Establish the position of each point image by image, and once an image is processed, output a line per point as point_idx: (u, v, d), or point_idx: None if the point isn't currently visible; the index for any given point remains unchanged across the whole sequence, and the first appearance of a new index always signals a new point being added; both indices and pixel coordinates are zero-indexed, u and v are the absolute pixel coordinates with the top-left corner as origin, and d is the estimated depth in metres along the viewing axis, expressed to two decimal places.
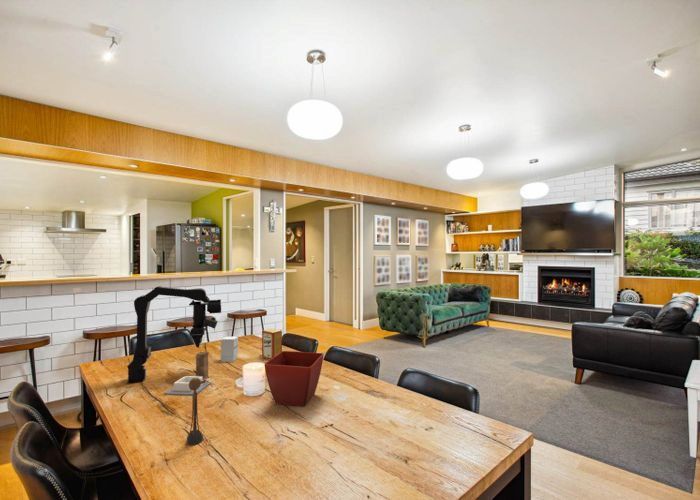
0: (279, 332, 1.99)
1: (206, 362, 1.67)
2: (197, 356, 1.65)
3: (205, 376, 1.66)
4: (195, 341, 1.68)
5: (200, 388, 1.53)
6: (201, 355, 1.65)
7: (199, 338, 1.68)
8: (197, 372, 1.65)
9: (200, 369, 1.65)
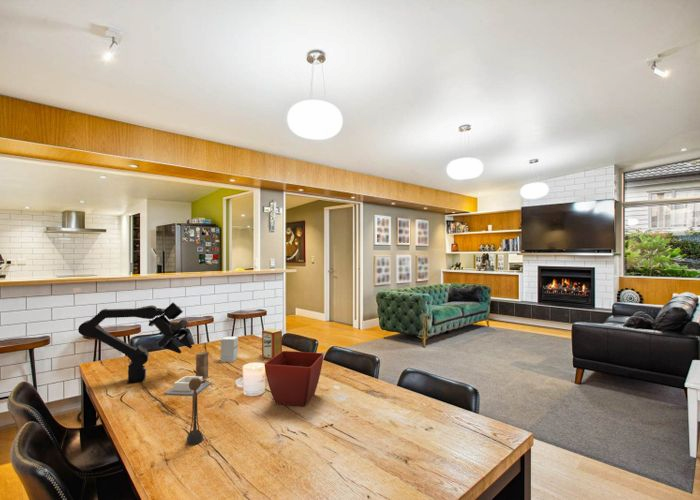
0: (279, 332, 1.99)
1: (206, 362, 1.67)
2: (197, 356, 1.65)
3: (205, 376, 1.66)
4: (173, 350, 1.62)
5: (200, 388, 1.53)
6: (201, 355, 1.65)
7: (173, 345, 1.62)
8: (197, 372, 1.65)
9: (200, 369, 1.65)
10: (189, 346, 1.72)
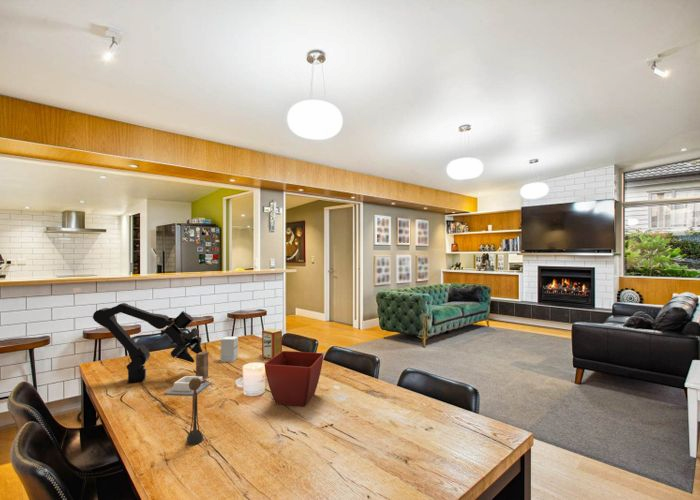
0: (279, 332, 1.99)
1: (206, 362, 1.67)
2: (197, 356, 1.65)
3: (205, 376, 1.66)
4: (186, 359, 1.62)
5: (200, 388, 1.53)
6: (201, 355, 1.65)
7: (186, 354, 1.62)
8: (197, 372, 1.65)
9: (200, 369, 1.65)
10: None
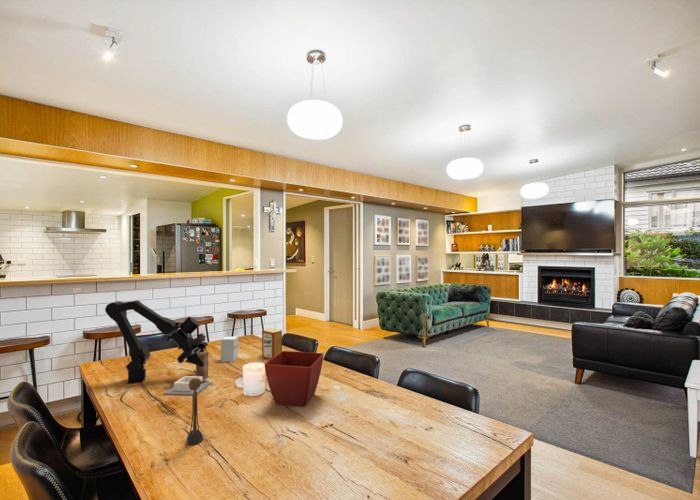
0: (279, 332, 1.99)
1: (206, 362, 1.67)
2: (197, 356, 1.65)
3: (205, 376, 1.66)
4: (195, 363, 1.64)
5: (200, 388, 1.53)
6: (201, 355, 1.65)
7: (195, 358, 1.64)
8: (197, 372, 1.65)
9: (200, 369, 1.65)
10: None
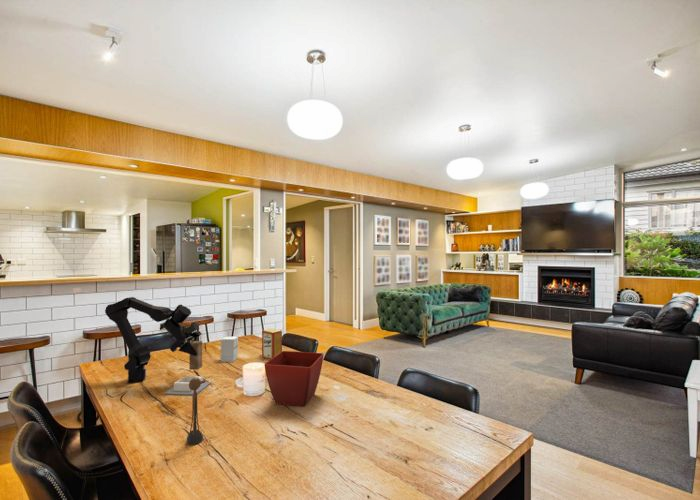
0: (279, 332, 1.99)
1: (200, 351, 1.61)
2: (191, 345, 1.59)
3: (198, 365, 1.59)
4: (189, 352, 1.57)
5: (200, 388, 1.53)
6: (195, 344, 1.59)
7: (189, 347, 1.57)
8: (190, 362, 1.59)
9: (194, 358, 1.59)
10: None
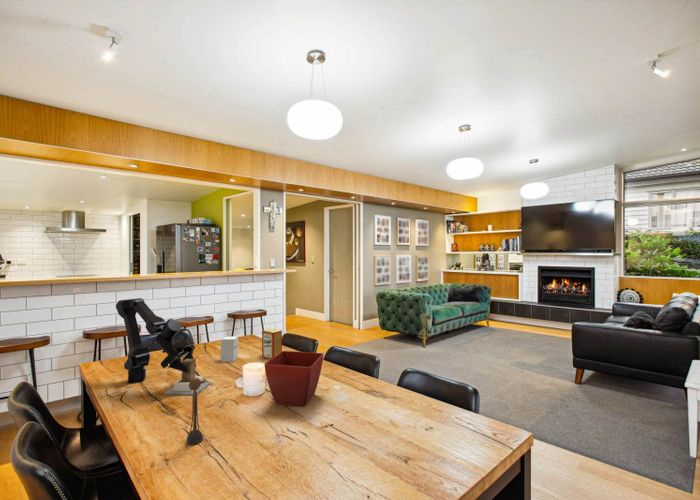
0: (279, 332, 1.99)
1: (193, 370, 1.54)
2: (183, 363, 1.52)
3: None
4: (179, 369, 1.50)
5: (200, 388, 1.53)
6: (187, 362, 1.52)
7: (179, 364, 1.49)
8: (183, 381, 1.52)
9: (186, 377, 1.52)
10: None
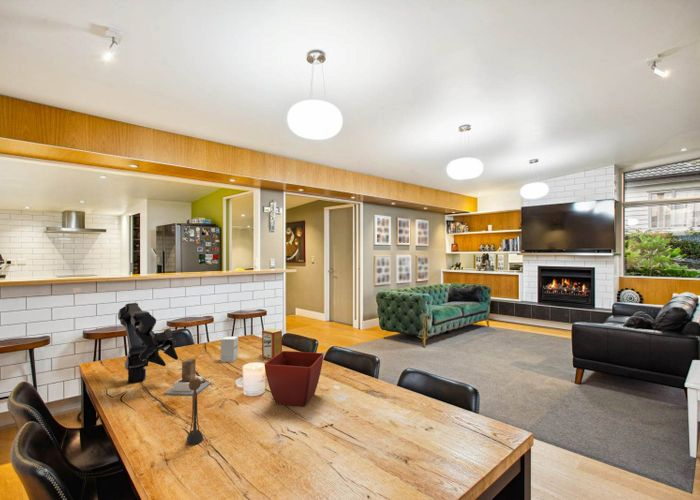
0: (279, 332, 1.99)
1: (193, 370, 1.54)
2: (183, 363, 1.52)
3: None
4: (157, 362, 1.49)
5: (200, 388, 1.53)
6: (187, 362, 1.52)
7: (157, 357, 1.49)
8: (183, 381, 1.52)
9: (186, 377, 1.52)
10: (175, 357, 1.59)
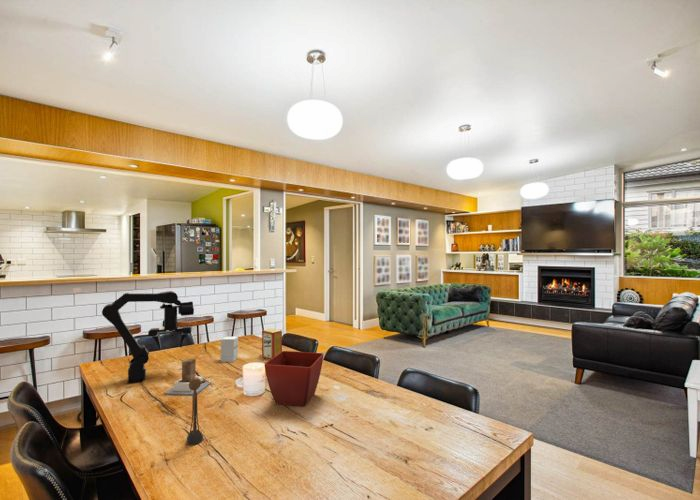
0: (279, 332, 1.99)
1: (193, 370, 1.54)
2: (183, 363, 1.52)
3: None
4: None
5: (200, 388, 1.53)
6: (187, 362, 1.52)
7: None
8: (183, 381, 1.52)
9: (186, 377, 1.52)
10: (160, 347, 1.71)
